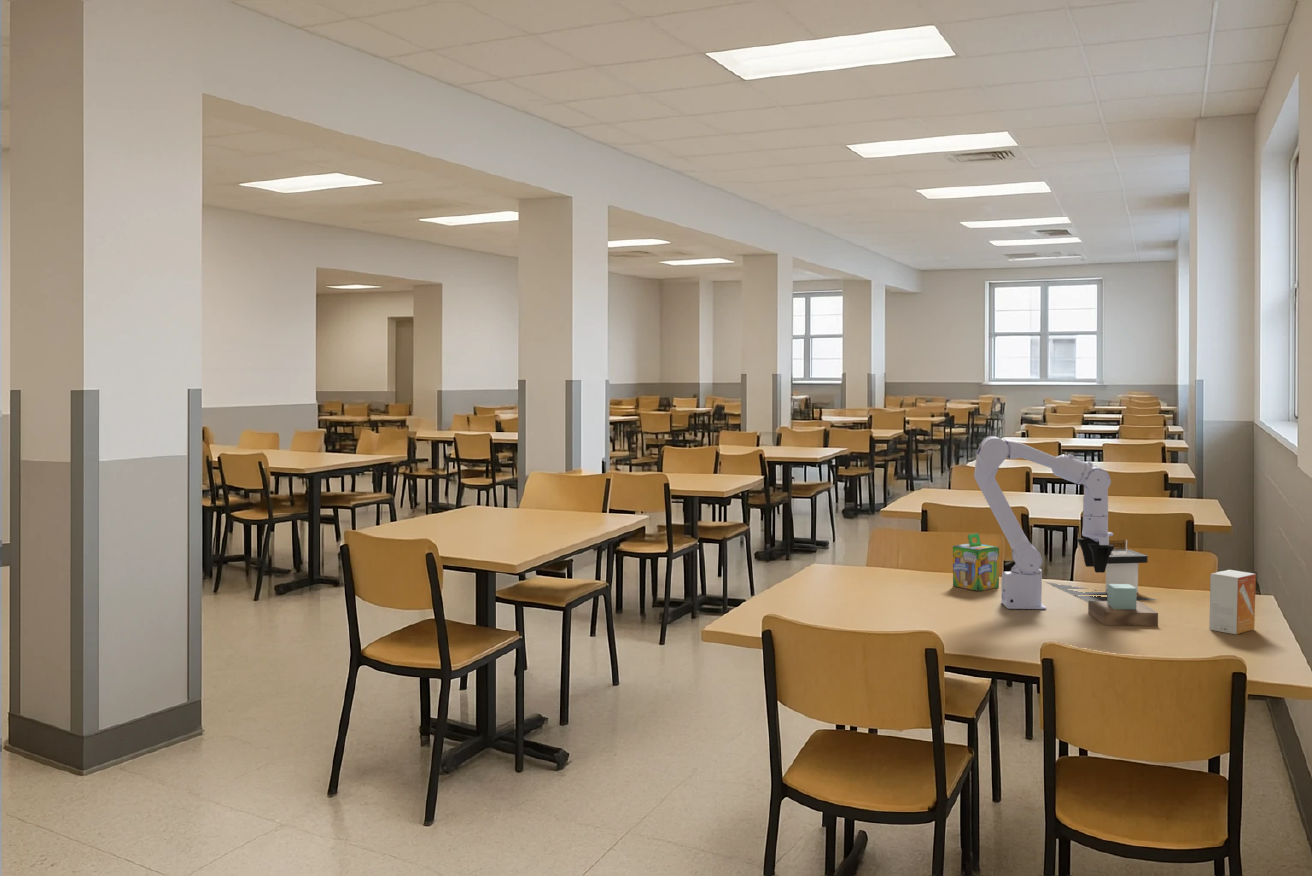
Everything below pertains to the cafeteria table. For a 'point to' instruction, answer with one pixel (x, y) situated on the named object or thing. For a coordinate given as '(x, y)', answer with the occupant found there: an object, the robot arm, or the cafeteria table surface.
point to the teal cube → (1121, 596)
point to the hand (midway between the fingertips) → (1094, 569)
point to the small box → (1232, 601)
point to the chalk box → (975, 565)
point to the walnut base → (1123, 614)
